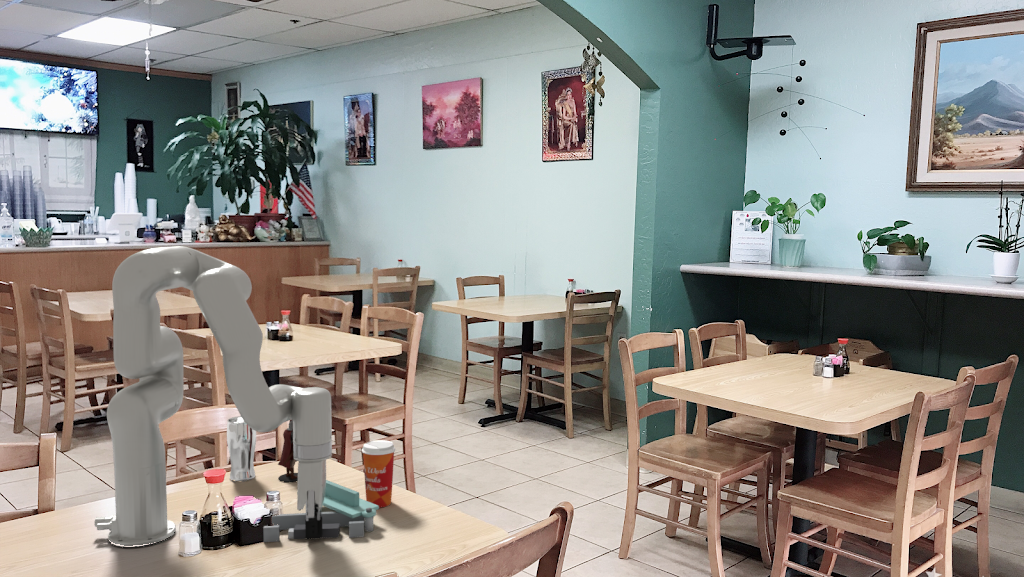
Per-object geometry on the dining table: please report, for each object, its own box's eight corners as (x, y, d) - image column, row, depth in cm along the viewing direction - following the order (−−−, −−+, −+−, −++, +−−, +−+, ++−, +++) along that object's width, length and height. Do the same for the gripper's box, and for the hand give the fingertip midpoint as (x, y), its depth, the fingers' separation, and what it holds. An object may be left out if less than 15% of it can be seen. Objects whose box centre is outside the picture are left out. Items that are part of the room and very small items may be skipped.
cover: (297, 494, 177) (296, 478, 177) (323, 486, 182) (322, 471, 182) (360, 521, 162) (360, 504, 162) (386, 511, 168) (386, 495, 167)
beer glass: (222, 478, 197) (220, 420, 195) (245, 471, 202) (244, 414, 201) (239, 484, 193) (238, 424, 191) (262, 476, 198) (261, 418, 197)
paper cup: (355, 505, 180) (354, 446, 178) (375, 495, 187) (375, 437, 185) (382, 512, 176) (382, 451, 175) (402, 501, 183) (402, 442, 182)
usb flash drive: (287, 539, 161) (287, 529, 161) (289, 534, 164) (289, 524, 163) (338, 537, 162) (338, 528, 162) (339, 532, 165) (339, 523, 164)
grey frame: (263, 542, 159) (263, 526, 159) (268, 528, 166) (268, 513, 166) (373, 536, 163) (373, 521, 163) (373, 523, 170) (373, 508, 170)
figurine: (310, 478, 198) (309, 420, 196) (283, 485, 193) (282, 425, 191) (297, 471, 202) (296, 414, 201) (271, 478, 197) (270, 419, 196)
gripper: (297, 439, 165) (299, 523, 167) (288, 462, 150) (290, 554, 152) (334, 438, 166) (335, 522, 168) (328, 460, 151) (330, 552, 153)
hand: (314, 537), depth 160 cm, fingers closed
